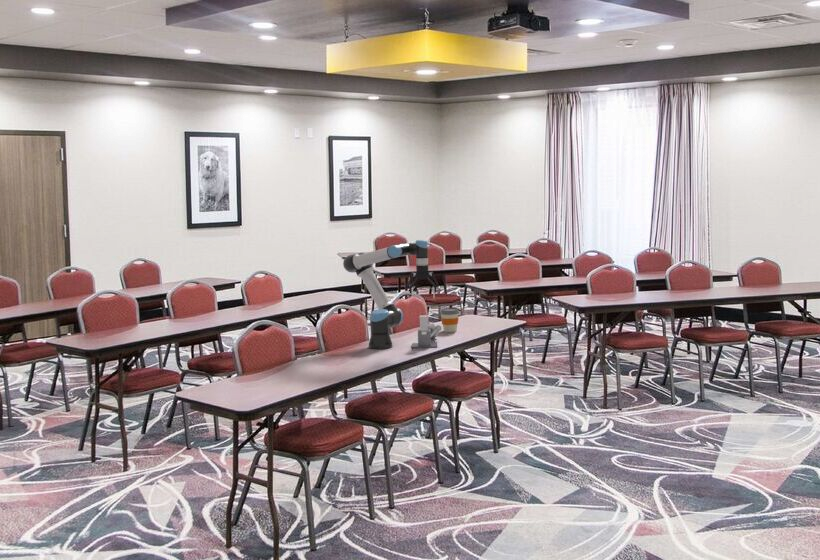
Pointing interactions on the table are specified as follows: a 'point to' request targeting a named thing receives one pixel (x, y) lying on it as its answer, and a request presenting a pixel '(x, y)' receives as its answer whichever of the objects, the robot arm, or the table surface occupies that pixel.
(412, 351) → the table surface
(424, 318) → the column
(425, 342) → the stand base
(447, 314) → the reusable coffee cup
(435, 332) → the valve
